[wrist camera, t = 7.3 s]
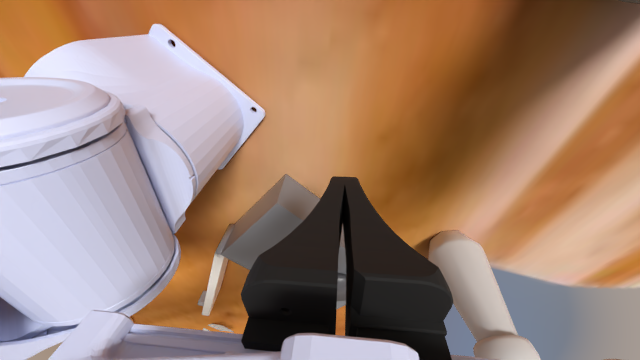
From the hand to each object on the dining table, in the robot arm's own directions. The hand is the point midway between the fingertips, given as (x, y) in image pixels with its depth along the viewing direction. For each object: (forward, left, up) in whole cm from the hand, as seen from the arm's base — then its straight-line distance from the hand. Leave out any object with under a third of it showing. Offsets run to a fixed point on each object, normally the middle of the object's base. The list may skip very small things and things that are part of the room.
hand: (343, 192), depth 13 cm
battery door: (+2, -25, -9) cm, 26 cm away
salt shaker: (+20, -1, -10) cm, 22 cm away
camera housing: (+8, -12, -9) cm, 17 cm away
